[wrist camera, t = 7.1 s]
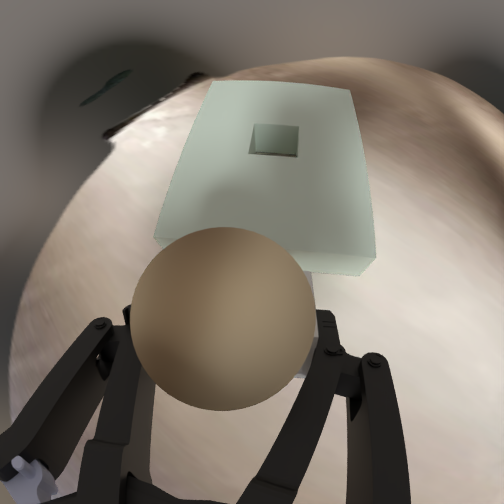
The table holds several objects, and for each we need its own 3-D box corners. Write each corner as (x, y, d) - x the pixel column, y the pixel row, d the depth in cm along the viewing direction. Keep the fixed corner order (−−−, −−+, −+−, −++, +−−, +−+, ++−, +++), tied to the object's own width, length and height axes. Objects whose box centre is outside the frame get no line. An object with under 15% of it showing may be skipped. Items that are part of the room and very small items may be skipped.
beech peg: (290, 314, 23) (321, 233, 9) (282, 384, 20) (305, 423, 7) (220, 306, 23) (152, 220, 10) (210, 374, 21) (115, 385, 7)
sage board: (344, 115, 36) (349, 90, 32) (359, 276, 26) (376, 258, 22) (217, 105, 38) (212, 81, 34) (170, 257, 28) (153, 236, 24)
